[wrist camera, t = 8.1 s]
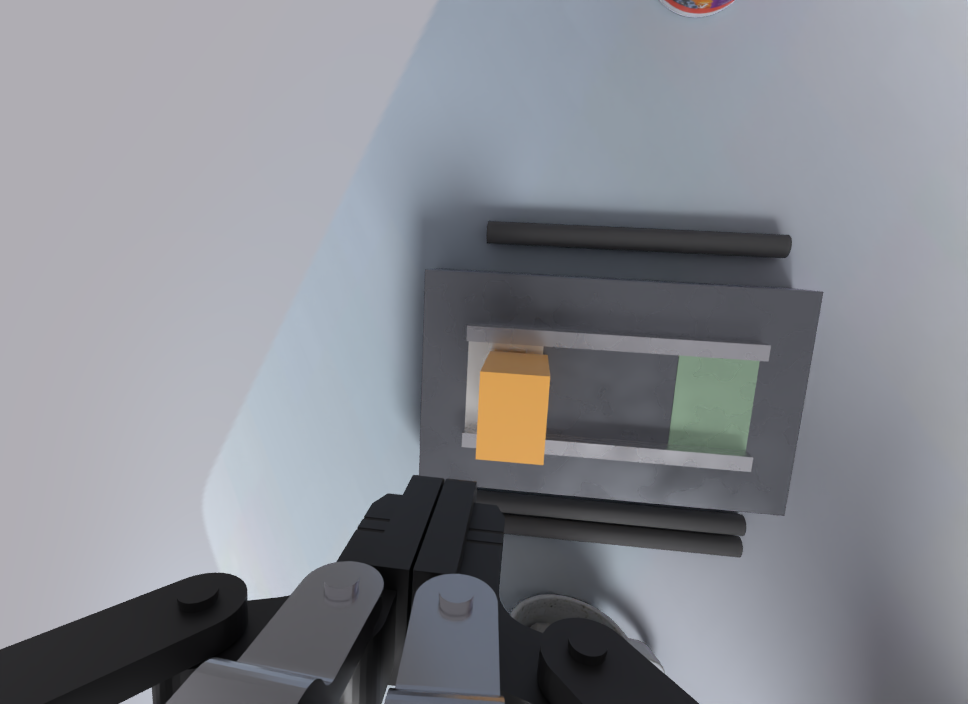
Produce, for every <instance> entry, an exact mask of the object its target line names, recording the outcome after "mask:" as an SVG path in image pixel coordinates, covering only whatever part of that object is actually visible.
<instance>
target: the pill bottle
mask: <svg viewBox="0 0 968 704" xmlns="http://www.w3.org/2000/svg"><path fill="white" fill-rule="evenodd" d="M659 1H660V2H661V3H662V4H663V5H664V6H665V7H667V8H668V9H669V10H671V11H673V12H674V13H677V14H679V15H682V16H686V17H705V16H709V15H713V14H715V13H718V12H720V11H721V10H723V9H725V8H726V7H728V6H729V5H731V4H732V3H733V2H734V1H735V0H659Z"/></svg>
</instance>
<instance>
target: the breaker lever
mask: <svg viewBox="0 0 968 704" xmlns="http://www.w3.org/2000/svg"><path fill="white" fill-rule="evenodd" d="M549 387H550V370H549V361H548V355H543V354H529V353H514V352H500V351H490V353H489V355H488V357H487V359H486V361H485V363H484V365H483V367H482V369H481V371H480V382H479V402H478V421H477V441H476V459H478V460H490V461H501V462H512V463H524V464H535V465H543V464H544V451H545V438H546V426H547V413H548V400H549Z"/></svg>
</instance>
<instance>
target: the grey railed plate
mask: <svg viewBox="0 0 968 704" xmlns="http://www.w3.org/2000/svg"><path fill="white" fill-rule="evenodd" d="M487 243H495V244H515V245H535V246H555V247H575V248H595V249H615V250H635V251H655V252H675V253H695V254H715V255H735V256H755V257H775V258H786V257H787V256H788V255H789V253H790V250H791V246H792V240H791V237H790V236H789V235H776V234H754V233H733V232H711V231H689V230H668V229H646V228H624V227H603V226H581V225H559V224H538V223H516V222H494V221H488V225H487ZM476 503H481V504H491V505H497V506H498V508H499V509H500V511H501V512H503V513H502V514H503V515H504V517H505V525H504V534H513V535H523V536H533V537H543V538H553V539H562V540H572V541H582V542H592V543H602V544H612V545H622V546H632V547H641V548H651V549H661V550H671V551H681V552H691V553H701V554H711V555H720V556H730V557H741V555H742V551H743V546H742V541H741V539H740V537H739V536H744V535H745V532H746V521H745V518H744V516H743V515H740V514H730V513H719V512H709V511H698V510H687V509H677V508H666V507H655V506H645V505H634V504H623V503H613V502H602V501H591V500H581V499H570V498H560V497H549V496H538V495H528V494H517V493H506V492H496V491H485V490H477V496H476ZM507 513H513V514H507ZM517 514H524V515H517ZM528 515H534V516H528ZM538 516H544V517H538ZM548 517H554V518H548ZM558 518H565V519H558ZM569 519H575V520H569ZM579 520H585V521H579ZM589 521H595V522H589ZM599 522H606V523H599ZM610 523H616V524H610ZM620 524H626V525H620ZM630 525H636V526H630ZM640 526H647V527H640ZM651 527H657V528H651ZM661 528H667V529H661ZM671 529H677V530H671ZM681 530H688V531H681ZM691 531H698V532H691ZM702 532H708V533H702ZM712 533H718V534H712ZM722 534H729V535H722ZM732 535H739V536H732Z"/></svg>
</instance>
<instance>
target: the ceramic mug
mask: <svg viewBox="0 0 968 704" xmlns="http://www.w3.org/2000/svg"><path fill="white" fill-rule="evenodd" d="M510 616H511V617H512V618H514V619H515V620H516V621H518V622H519V623H521V624H523V625H525V626H527V627H529V628H531V629H534V630H536V631H539V632H542V633H543V632H544V631H545V629H546V628H547V627H548V626H549V625H551V624H552V623H554V622H556V621H558V620H561V619H566V618H585V619H590V620H593V621H596V622H599V623H601V624H604V625H606V626H608V627H609V628H611V629H613V630H614V631H615V632H617V633H618V634H619V635H620V636H622V637H623V638H624V639H625V640H626V641H627V642H628V643H630V644H631V645H632V646H633V647H634V648H635V649H637V650H638V651H639V652H640V653H641V654H642V655H643V656H645V657H646V658H647V659H648V660H649V661H650V662H652V663H653V664H654V665H655V666H656V667H657V668H659V669H660V670H661V671H662V672H663V673H664V674H665V672H664V669H663V666H662V665H661V663H660V662H659V660H658V659H657V658H656V656H655V655H654V653H653V652H652V651H651V649H650V648H649V647H648V646H647V645H646V644H644V643H643V642H641V641H639V640H634V639H629V638H627V636H626V635H625V633H624V632H623V631H622V630H621V629H620V627H619V626H618V625H617V624H616V623H615V622H614V621H613V620H612V619H611V618H610V617H608V616H607V615H605V614H604V613H603V612H601V611H600V610H598V609H597V608H595V607H593V606H591V605H589V604H587V603H585V602H583V601H580V600H577V599H574V598H571V597H567V596H563V595H556V594H541V595H537V596H533V597H529V598H527V599H525V600H523V601H521V602H520V603H519V604H518V605H517V606H516V607H515V608H514V609H513V610H512V612H511V614H510Z"/></svg>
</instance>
